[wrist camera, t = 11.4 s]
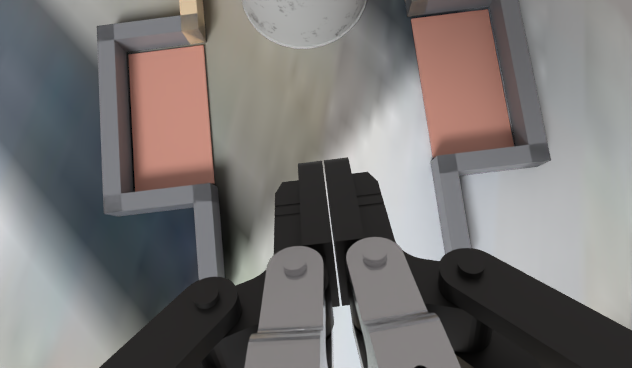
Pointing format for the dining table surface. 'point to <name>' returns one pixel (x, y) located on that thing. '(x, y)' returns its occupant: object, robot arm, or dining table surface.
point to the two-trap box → (194, 122)
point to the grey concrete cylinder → (303, 20)
